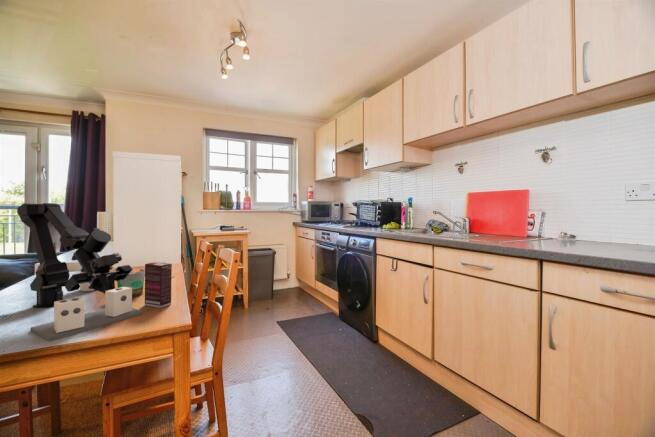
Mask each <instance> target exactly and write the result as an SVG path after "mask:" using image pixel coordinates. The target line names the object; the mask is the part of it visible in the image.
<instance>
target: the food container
mask: <svg viewBox="0 0 655 437" xmlns="http://www.w3.org/2000/svg"><path fill="white" fill-rule="evenodd" d="M116 282H117V283H116V284H117V285H116V286H117V288H120V287H129V288H132V299H133V298H138V297H140V296H143V294H144V286H145V269H140V270H139V271H136V272H130V274H129V275H128V276H127V277H126V278H125V279H123V280H119V281H116Z"/></svg>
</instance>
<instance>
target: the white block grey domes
mask: <svg viewBox="0 0 655 437" xmlns="http://www.w3.org/2000/svg"><path fill="white" fill-rule="evenodd" d="M84 314H85V299H84V298H83V297H81V296H80V297H74V298H68V299H63V300H61V301H55V302H54V306H53V322H54V330H55V332H56V333H59V332H63V331H67V330H72V329H76V328H80V327H84Z"/></svg>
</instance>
